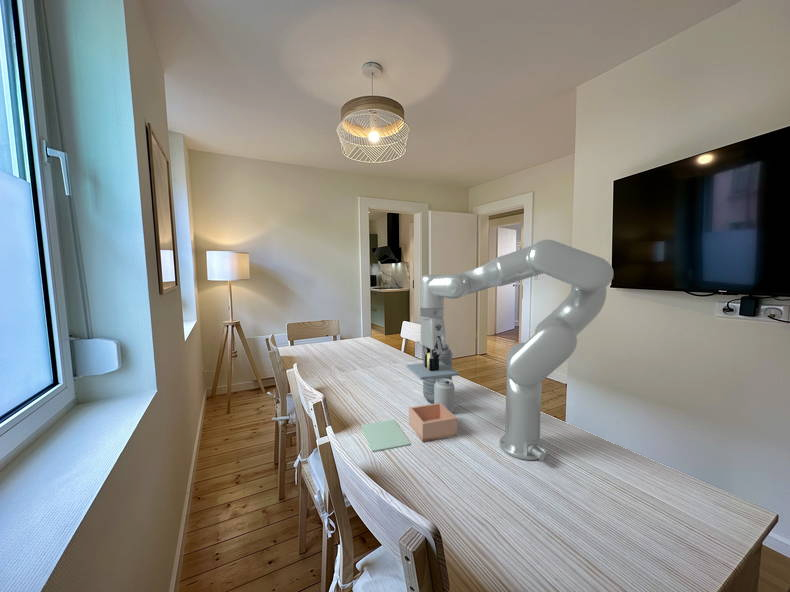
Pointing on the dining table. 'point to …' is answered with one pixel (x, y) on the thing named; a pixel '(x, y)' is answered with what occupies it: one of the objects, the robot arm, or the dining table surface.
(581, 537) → the dining table surface
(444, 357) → the vase
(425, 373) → the lid
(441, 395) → the can
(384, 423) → the mat
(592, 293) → the robot arm
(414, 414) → the salmon open box
